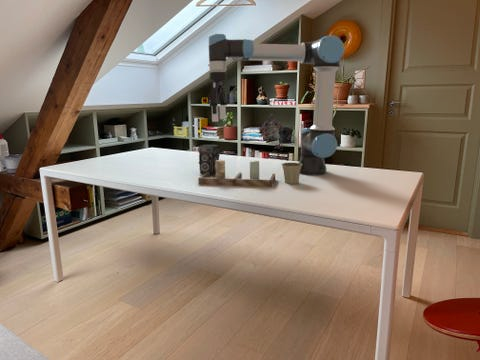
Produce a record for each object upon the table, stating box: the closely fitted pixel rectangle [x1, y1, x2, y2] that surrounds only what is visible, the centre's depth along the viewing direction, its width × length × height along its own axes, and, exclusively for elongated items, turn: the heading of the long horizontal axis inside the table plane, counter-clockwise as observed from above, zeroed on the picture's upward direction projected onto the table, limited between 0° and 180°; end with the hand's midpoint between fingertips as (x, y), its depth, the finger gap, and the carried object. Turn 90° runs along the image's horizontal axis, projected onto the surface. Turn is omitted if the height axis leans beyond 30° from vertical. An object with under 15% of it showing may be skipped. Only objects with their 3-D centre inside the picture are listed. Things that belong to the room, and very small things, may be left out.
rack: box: [197, 172, 276, 188], centre depth 168 cm, size 34×14×3 cm, turn 79°
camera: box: [197, 144, 221, 176], centre depth 183 cm, size 10×10×15 cm
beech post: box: [215, 159, 226, 178], centre depth 168 cm, size 4×4×10 cm
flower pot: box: [281, 161, 302, 185], centre depth 165 cm, size 9×9×9 cm
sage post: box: [249, 160, 260, 180], centre depth 165 cm, size 4×4×10 cm
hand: (219, 120), depth 163 cm, fingers open, 13 cm apart
